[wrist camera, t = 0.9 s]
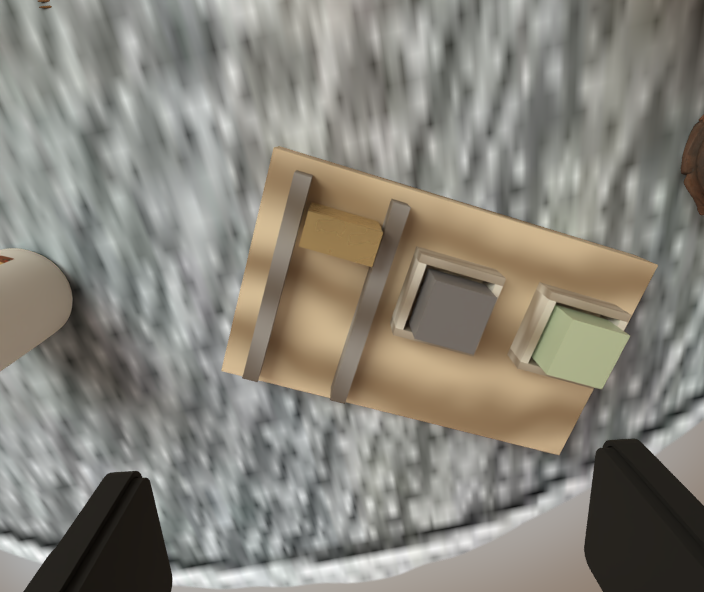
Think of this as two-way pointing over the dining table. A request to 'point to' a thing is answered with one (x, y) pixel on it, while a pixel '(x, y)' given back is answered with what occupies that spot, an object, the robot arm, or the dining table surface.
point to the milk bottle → (29, 302)
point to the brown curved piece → (695, 165)
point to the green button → (579, 347)
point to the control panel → (399, 300)
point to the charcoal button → (451, 311)
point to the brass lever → (341, 234)
